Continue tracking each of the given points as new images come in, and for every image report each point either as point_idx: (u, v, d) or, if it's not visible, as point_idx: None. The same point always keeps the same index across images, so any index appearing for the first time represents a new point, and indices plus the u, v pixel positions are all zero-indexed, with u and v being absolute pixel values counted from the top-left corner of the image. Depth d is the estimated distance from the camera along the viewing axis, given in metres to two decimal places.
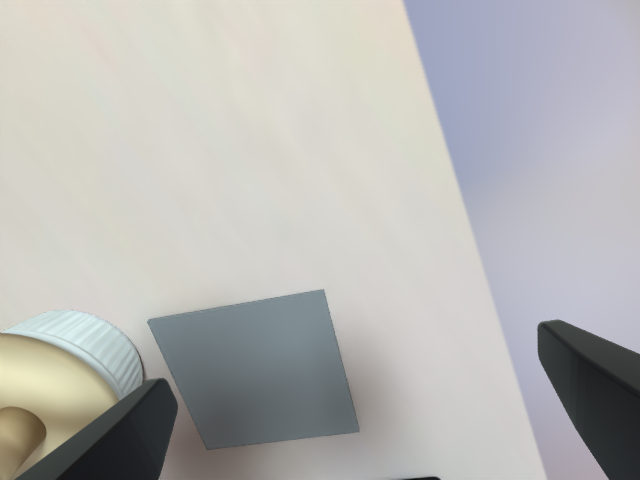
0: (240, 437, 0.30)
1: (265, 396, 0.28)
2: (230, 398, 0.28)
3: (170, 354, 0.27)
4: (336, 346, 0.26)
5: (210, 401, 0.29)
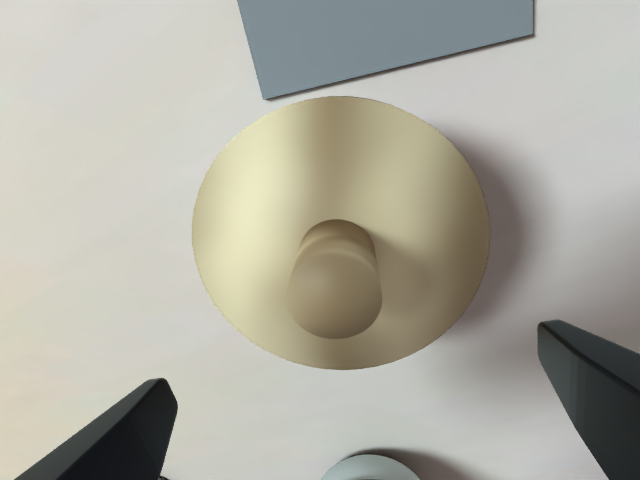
0: None
1: None
2: None
3: (318, 72, 0.18)
4: None
5: (416, 11, 0.17)
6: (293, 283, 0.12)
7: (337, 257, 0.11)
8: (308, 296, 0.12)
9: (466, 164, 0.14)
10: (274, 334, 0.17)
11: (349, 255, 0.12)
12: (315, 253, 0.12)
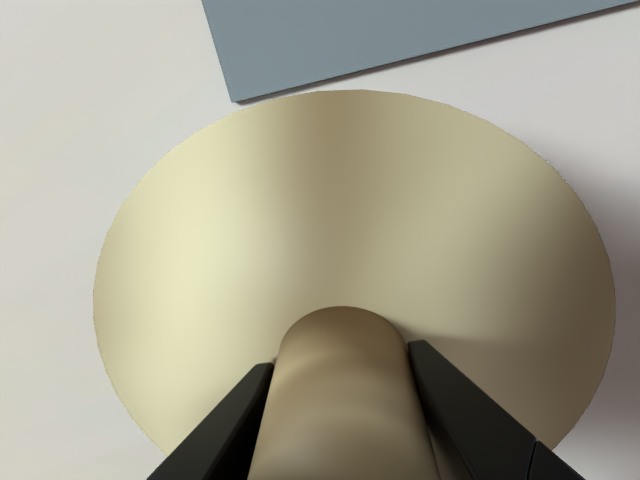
0: None
1: None
2: None
3: (314, 60, 0.12)
4: None
5: None
6: None
7: (350, 440, 0.05)
8: None
9: (581, 209, 0.07)
10: None
11: (375, 429, 0.05)
12: (302, 415, 0.06)
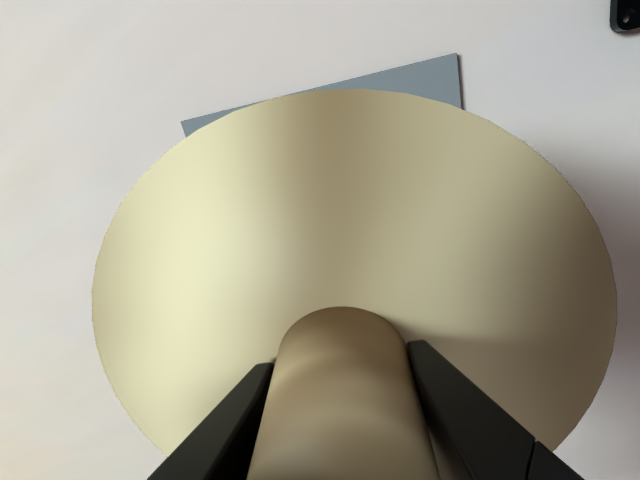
0: None
1: None
2: None
3: None
4: None
5: None
6: None
7: (350, 441, 0.05)
8: None
9: (582, 209, 0.07)
10: None
11: (374, 430, 0.05)
12: (300, 417, 0.06)
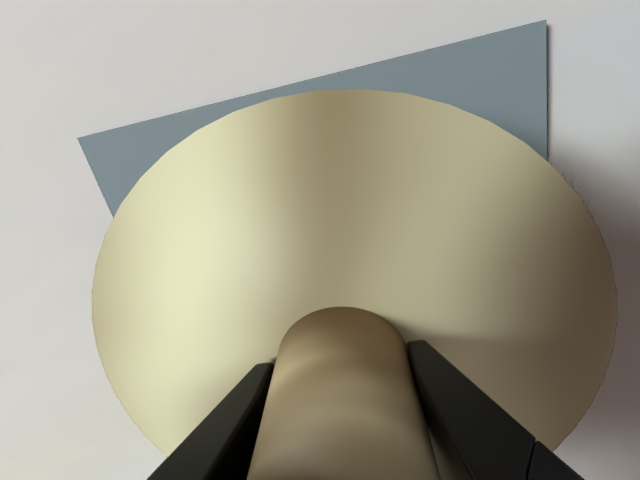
0: None
1: None
2: None
3: None
4: (224, 103, 0.10)
5: None
6: None
7: (349, 442, 0.05)
8: None
9: (582, 209, 0.07)
10: None
11: (374, 432, 0.05)
12: (301, 417, 0.06)
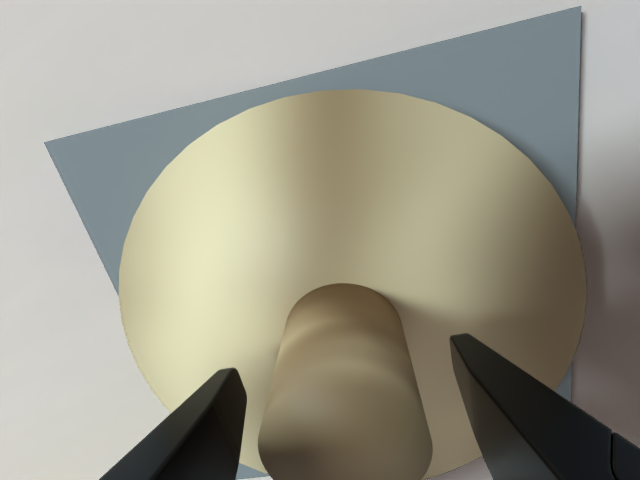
0: None
1: None
2: None
3: None
4: (209, 103, 0.09)
5: None
6: (269, 426, 0.07)
7: (349, 383, 0.06)
8: (297, 445, 0.07)
9: (554, 194, 0.08)
10: (254, 444, 0.12)
11: (370, 377, 0.06)
12: (308, 367, 0.07)
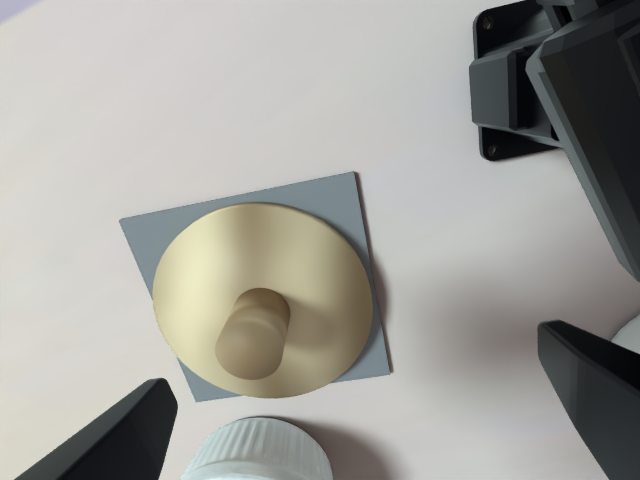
0: None
1: None
2: None
3: None
4: (197, 205, 0.19)
5: None
6: (219, 342, 0.17)
7: (247, 324, 0.17)
8: (230, 350, 0.17)
9: (347, 249, 0.19)
10: (220, 372, 0.22)
11: (257, 322, 0.17)
12: (234, 320, 0.17)
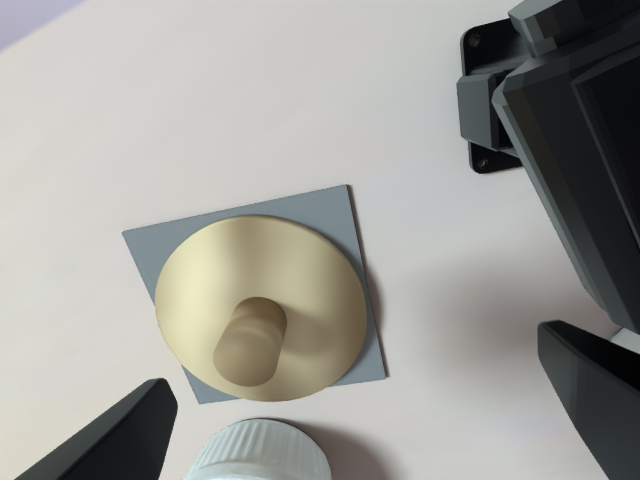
0: None
1: None
2: None
3: None
4: (196, 218, 0.20)
5: None
6: (216, 351, 0.18)
7: (243, 334, 0.17)
8: (227, 359, 0.18)
9: (341, 260, 0.19)
10: (220, 377, 0.23)
11: (252, 332, 0.18)
12: (231, 330, 0.18)
